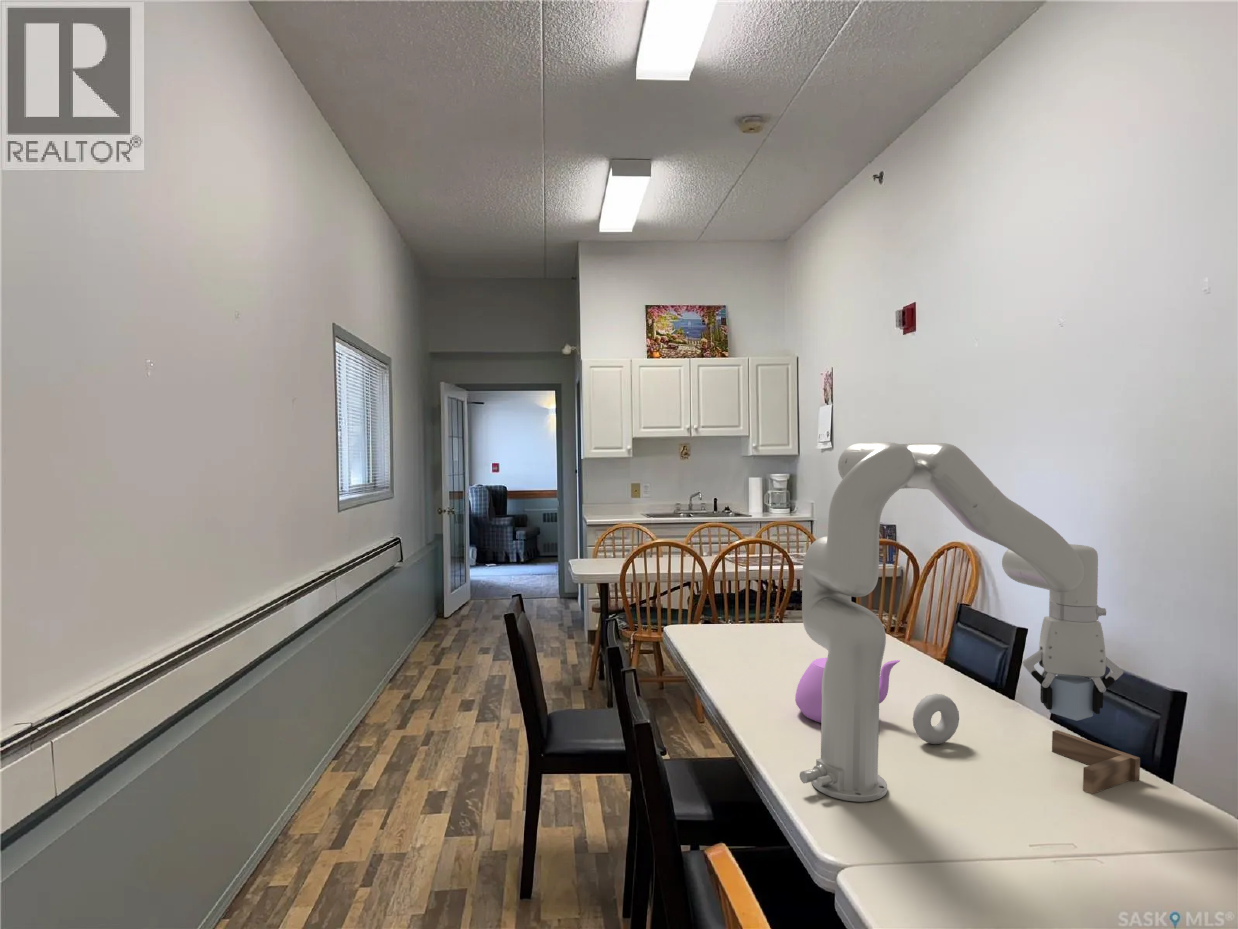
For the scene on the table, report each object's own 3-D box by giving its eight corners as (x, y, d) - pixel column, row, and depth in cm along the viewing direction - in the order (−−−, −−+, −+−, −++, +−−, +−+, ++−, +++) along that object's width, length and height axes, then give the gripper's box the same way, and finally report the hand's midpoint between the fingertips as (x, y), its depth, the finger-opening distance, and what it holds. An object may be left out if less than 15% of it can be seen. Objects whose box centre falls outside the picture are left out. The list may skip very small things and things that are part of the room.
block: (1076, 720, 136) (1077, 684, 135) (1049, 712, 140) (1049, 677, 140) (1092, 716, 138) (1093, 680, 138) (1065, 707, 142) (1065, 673, 142)
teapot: (907, 741, 153) (908, 672, 152) (796, 731, 157) (797, 665, 157) (890, 705, 174) (892, 645, 174) (793, 697, 178) (794, 639, 178)
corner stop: (1096, 796, 129) (1097, 772, 129) (1013, 763, 142) (1014, 742, 142) (1139, 780, 136) (1140, 757, 136) (1056, 750, 149) (1056, 730, 149)
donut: (919, 749, 148) (920, 698, 148) (908, 742, 152) (909, 693, 151) (962, 744, 151) (963, 694, 151) (950, 738, 154) (951, 689, 154)
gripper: (1119, 611, 140) (1117, 707, 140) (1015, 605, 145) (1013, 698, 145) (1135, 620, 133) (1133, 721, 133) (1024, 614, 137) (1023, 711, 138)
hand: (1071, 708), depth 139 cm, fingers closed on block, 7 cm apart
